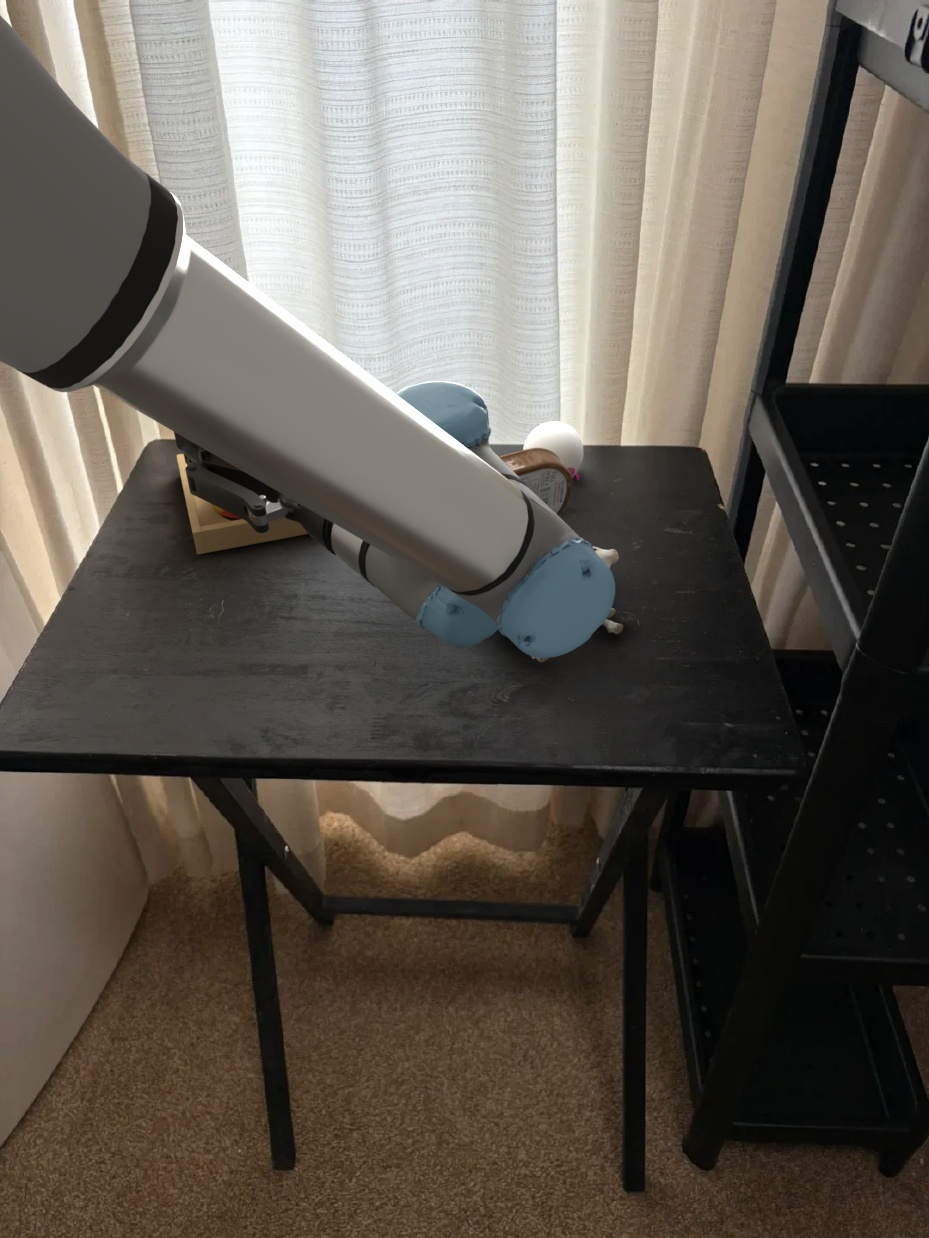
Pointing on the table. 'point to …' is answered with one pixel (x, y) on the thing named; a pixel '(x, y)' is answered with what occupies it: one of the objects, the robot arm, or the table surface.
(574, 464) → the stress ball
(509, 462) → the tin
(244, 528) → the serving tray
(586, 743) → the table surface
